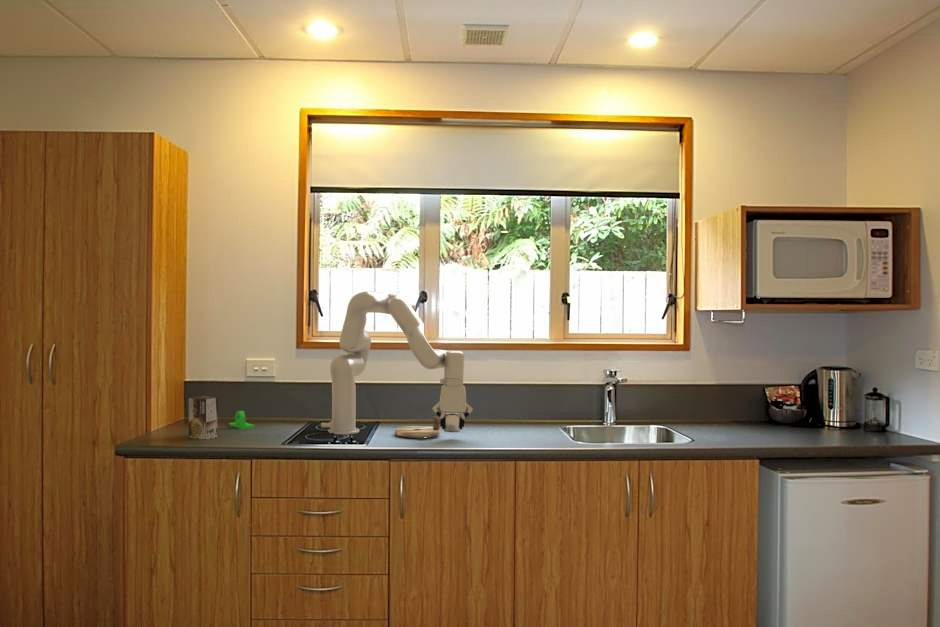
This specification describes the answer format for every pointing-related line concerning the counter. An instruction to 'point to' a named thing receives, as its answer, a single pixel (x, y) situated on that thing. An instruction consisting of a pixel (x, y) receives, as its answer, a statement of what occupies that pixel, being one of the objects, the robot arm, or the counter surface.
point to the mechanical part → (241, 421)
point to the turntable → (420, 430)
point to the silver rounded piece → (452, 422)
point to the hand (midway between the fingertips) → (452, 428)
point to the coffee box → (203, 417)
